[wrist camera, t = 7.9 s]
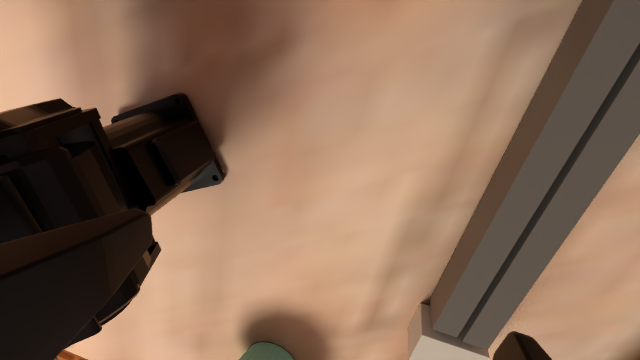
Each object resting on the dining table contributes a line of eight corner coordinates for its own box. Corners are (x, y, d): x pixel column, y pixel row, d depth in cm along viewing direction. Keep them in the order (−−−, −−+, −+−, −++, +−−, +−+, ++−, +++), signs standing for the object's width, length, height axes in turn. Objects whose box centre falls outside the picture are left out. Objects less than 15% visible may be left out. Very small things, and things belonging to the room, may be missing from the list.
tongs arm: (452, 306, 23) (457, 337, 21) (419, 295, 24) (420, 325, 21) (706, -142, 12) (777, -179, 10) (635, -152, 12) (687, -191, 10)
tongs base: (469, 350, 25) (476, 386, 23) (407, 329, 26) (407, 362, 23) (780, -120, 12) (878, -155, 9) (637, -141, 12) (693, -179, 10)
